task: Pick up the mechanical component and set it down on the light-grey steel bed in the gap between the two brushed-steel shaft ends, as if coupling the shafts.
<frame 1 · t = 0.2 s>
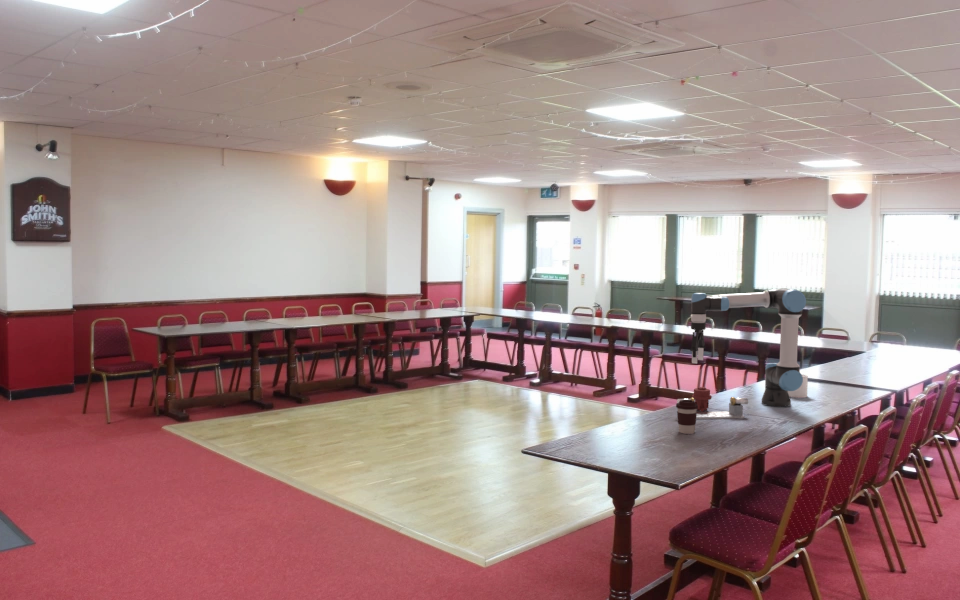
hand: (697, 361, 401), 26 cm above the table, fingers open, 13 cm apart
cup: (796, 396, 441), on the table
shaft bed: (712, 416, 389), on the table
coffee cup: (686, 432, 356), on the table
mechanical component: (701, 410, 403), on the table
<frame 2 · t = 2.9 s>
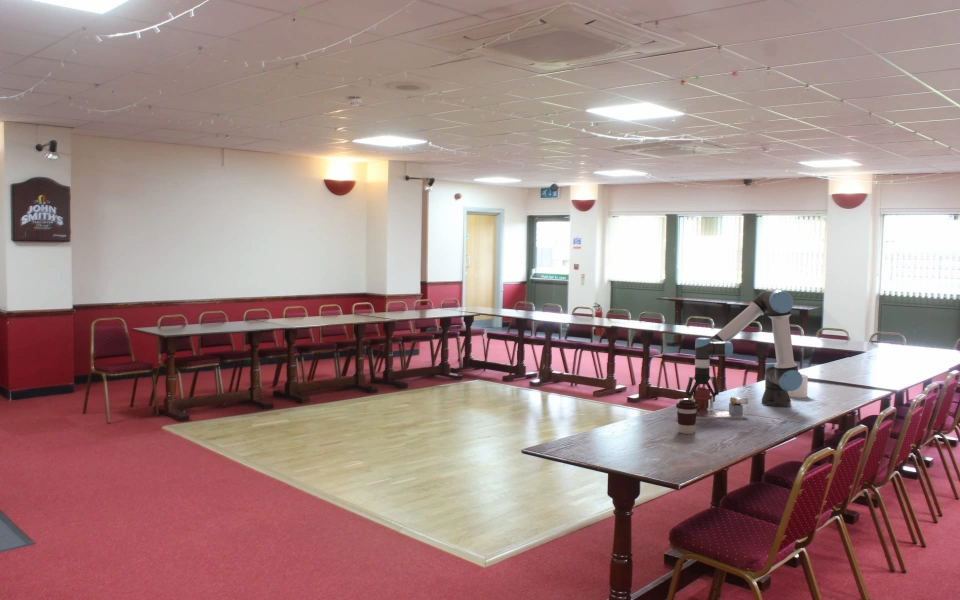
hand: (701, 408, 403), 1 cm above the table, fingers closed on mechanical component, 10 cm apart
mechanical component: (701, 410, 403), on the table, touching gripper
everything else where it was.
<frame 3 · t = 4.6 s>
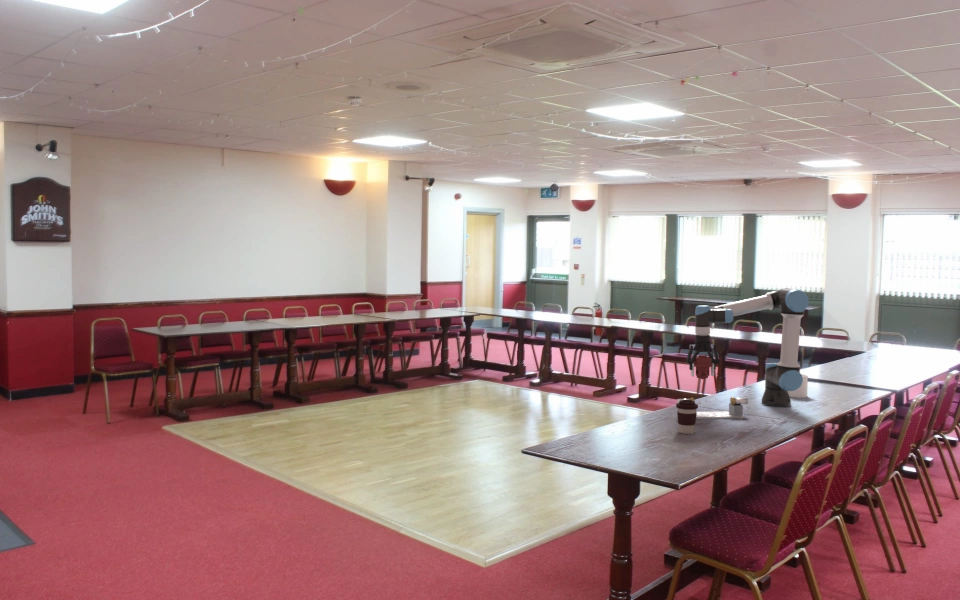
hand: (702, 375, 402), 19 cm above the table, fingers closed on mechanical component, 10 cm apart
mechanical component: (702, 378, 402), point 17 cm above the table, touching gripper
everything else where it was.
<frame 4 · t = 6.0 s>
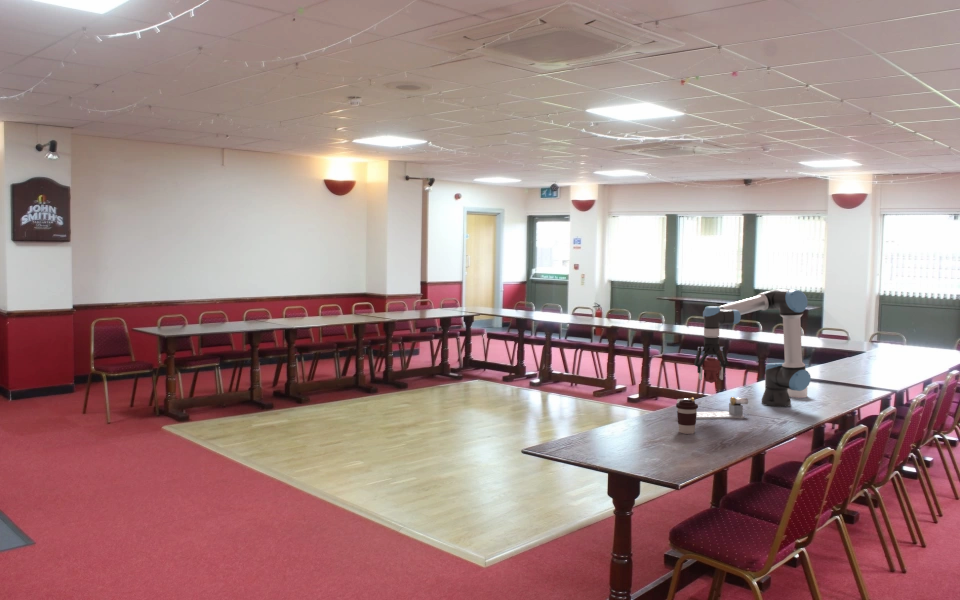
hand: (710, 379, 388), 19 cm above the table, fingers closed on mechanical component, 10 cm apart
mechanical component: (710, 382, 388), point 18 cm above the table, touching gripper
everything else where it was.
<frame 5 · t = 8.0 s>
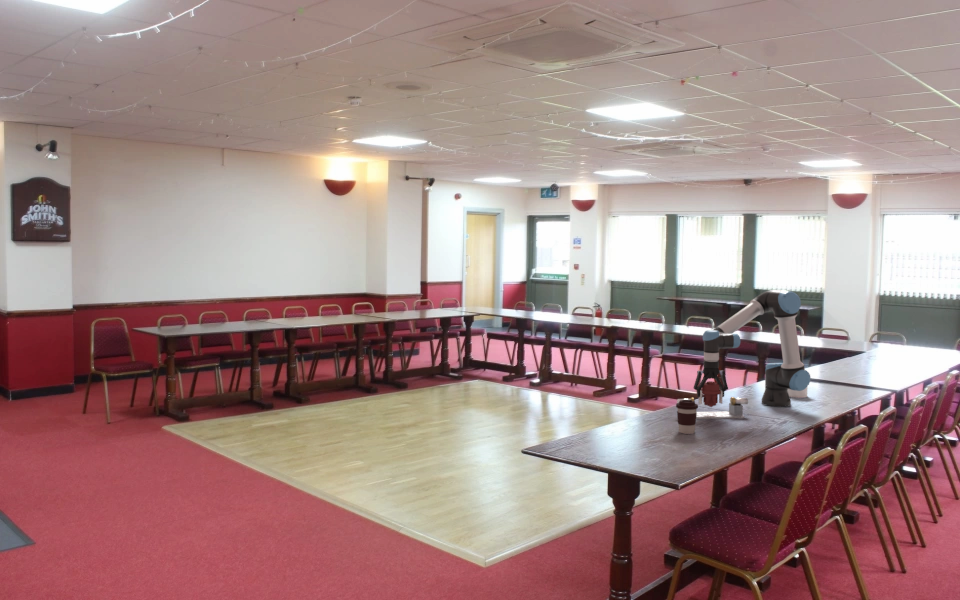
hand: (710, 403, 389), 7 cm above the table, fingers closed on mechanical component, 10 cm apart
mechanical component: (710, 406, 389), point 5 cm above the table, touching gripper
everything else where it was.
when the fingers open (4 cm above the table, at t = 9.2 s): mechanical component drops 2 cm, resting on shaft bed.
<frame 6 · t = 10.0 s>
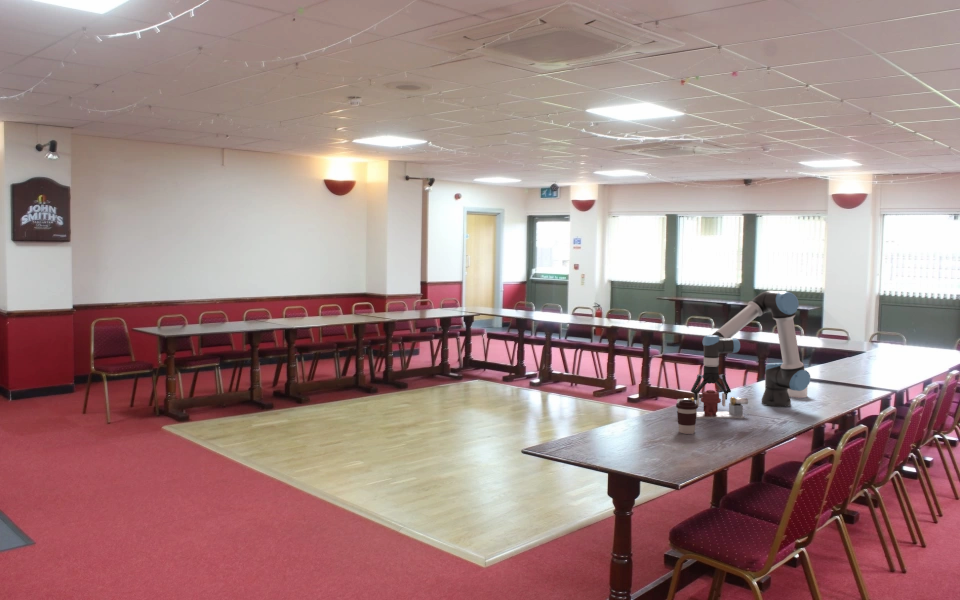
hand: (710, 406, 389), 5 cm above the table, fingers open, 13 cm apart
mechanical component: (710, 414, 389), point 1 cm above the table, touching shaft bed
everything else where it was.
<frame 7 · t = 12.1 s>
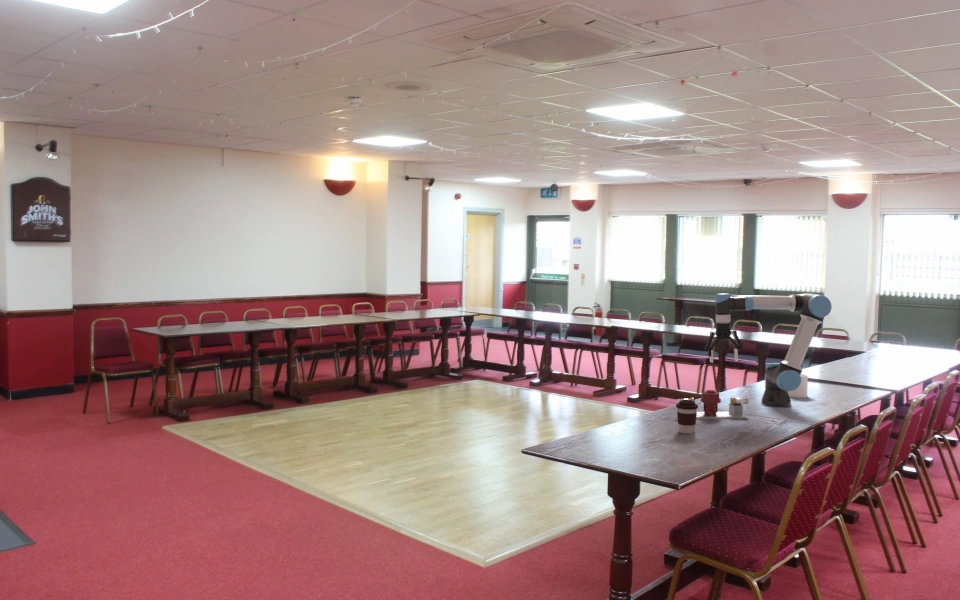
hand: (723, 361, 404), 26 cm above the table, fingers open, 13 cm apart
nothing on the table moved.
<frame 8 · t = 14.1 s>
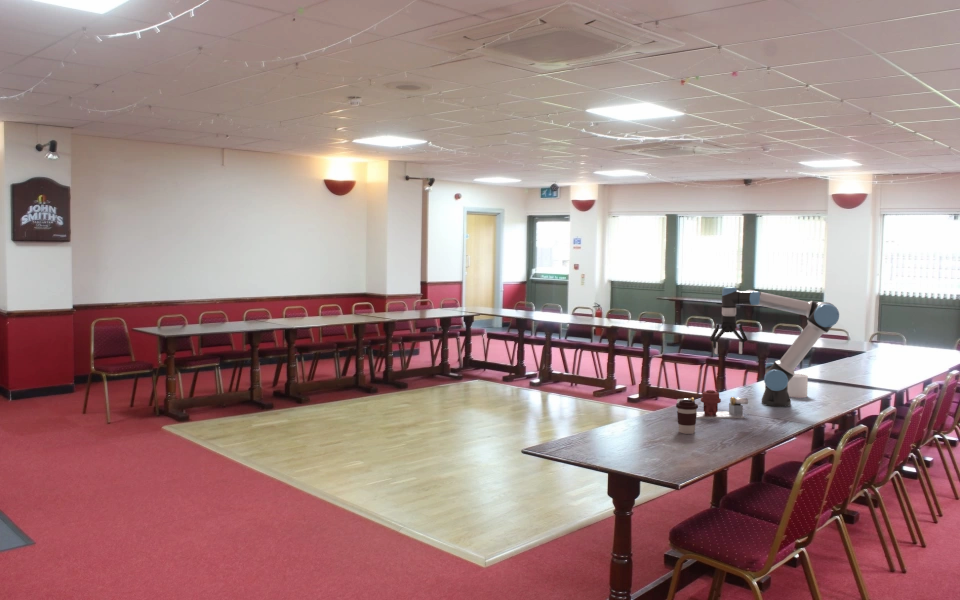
hand: (728, 353, 413), 29 cm above the table, fingers open, 13 cm apart
nothing on the table moved.
at the end: mechanical component inside the target area on the shaft bed (1.0 cm from its centre), point 0.8 cm above the shaft bed's base; mechanical component tilted 0°; the gripper is holding nothing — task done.
